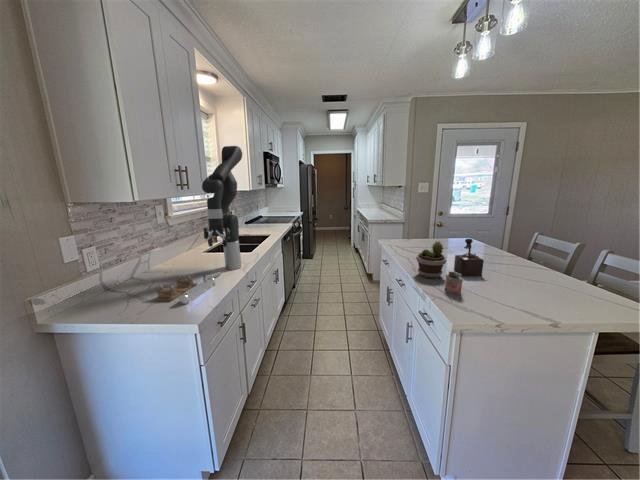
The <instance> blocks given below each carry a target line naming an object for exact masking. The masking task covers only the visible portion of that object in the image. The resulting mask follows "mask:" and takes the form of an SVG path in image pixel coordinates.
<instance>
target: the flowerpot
mask: <svg viewBox="0 0 640 480" xmlns="http://www.w3.org/2000/svg"><path fill="white" fill-rule="evenodd" d="M443 253H444V245H443V244H442V242H441V241H440V239H438V240H437V241H434V243H432V246H431V249H428V248H426V249H425V248H423V249H422V251H421V252H419V253H418V255H416V257H415V259H416V261H417V263H418V268H417V272H418V274H419V275H420V277H422V278H423V277H424V278H426V279H431V280H432V279H439V278H440V277H441V276H442V274H443V270H442V269H443V267H444V265H445V264H446V263H447V259H446V257H445V256H444V254H443Z"/></svg>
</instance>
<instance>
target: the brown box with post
mask: <svg viewBox="0 0 640 480" xmlns="http://www.w3.org/2000/svg"><path fill="white" fill-rule="evenodd" d="M464 241H465V243H466V245H465V246H464V247H463V248H464V249H466V250H468V253H467V252H466V253H464V254H456V255H455V256H454V262H453V263H454V265H453V272H454V271H455V272H456V273H459V274H461V275H462V276H461V277H463V278H466V277H467V278H469V277H470V278H471V277H482V276H483V269H484V262H485V260H484V259H483V258H481V257H479V255H477V254H476V253H474V254H473V253H472V252H471V250H472V243H473V241H474V240H473V239H472V238H466V239H465V240H464Z"/></svg>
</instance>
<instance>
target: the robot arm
mask: <svg viewBox="0 0 640 480" xmlns="http://www.w3.org/2000/svg"><path fill="white" fill-rule="evenodd" d="M220 154H221V162H220V164H219V165H217V166H216V168H215V169H214V171H213V172H212V174H210V175H209V176H207V177H206V178H205V179H204V180H202V184H201V189H202V191H203V192H204V193H205V194H213V196H212V197H210V198H207V200H206V206H207V207H206V208H207V222H208V227H204V228H203V239H205V240H207V244H208V246H209V247H210V248H212V247H213V246H214V245H213V237H216V236H217V237H220V238H221V240H222V245H223V247H222V248H223V256H224V257H223V258H224V266H225V269H226V270H228V271H232V270H233V271H235V270H238V269H240V268H241V267H242V257H241V251H240V240H239V237H240V230H239V225H240V224H239V219H238V217H237V215H236V214H228V212H229V208H230V205H231V204H232V202H233V201H234V200H235V198H236V196H237V193H238V182H237V180H236V178H235V175H234V174H233V173H232V170H233V169H234V168H235V167H236V166H237V165H238V164H239V163H240V162H241V160H242V158H243V152H242V148H241V147H240V146H238V145H226V146H223V147H222V149H221V153H220Z"/></svg>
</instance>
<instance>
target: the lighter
mask: <svg viewBox="0 0 640 480" xmlns="http://www.w3.org/2000/svg"><path fill="white" fill-rule="evenodd" d="M462 277H463V276H462V275H461V274H459V273H457V272H455V271H454V270H453V271H452V270H448V273H447V274H445V284H444V288H443V289H444V291H445V292H447V293H448V294H451V295H453V296H457V297H461V296H462V286H463V281H464V279H463V278H462Z"/></svg>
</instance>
